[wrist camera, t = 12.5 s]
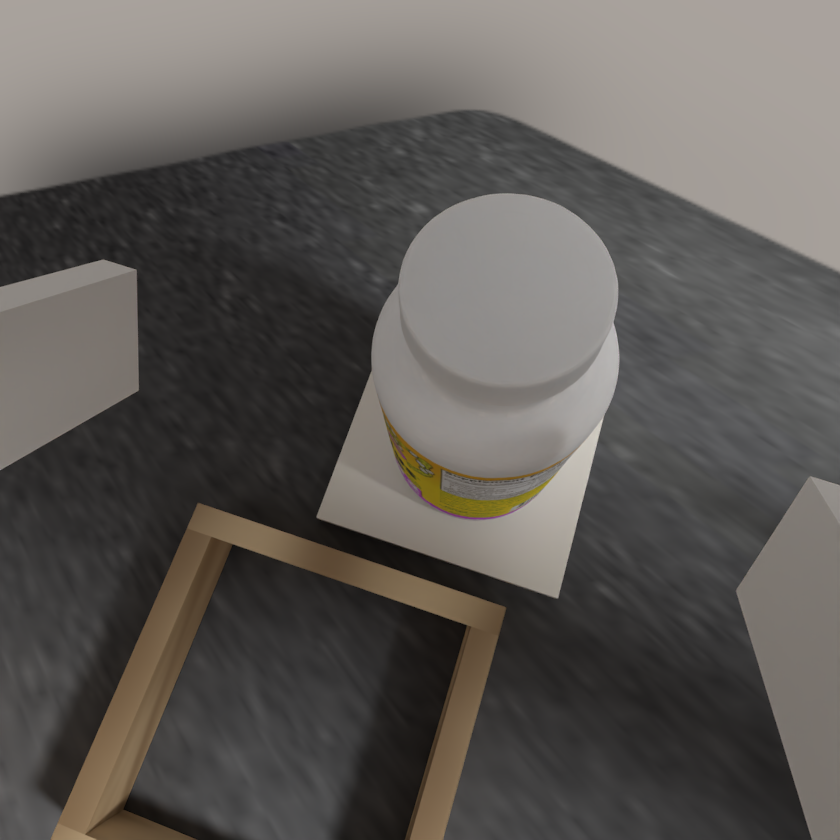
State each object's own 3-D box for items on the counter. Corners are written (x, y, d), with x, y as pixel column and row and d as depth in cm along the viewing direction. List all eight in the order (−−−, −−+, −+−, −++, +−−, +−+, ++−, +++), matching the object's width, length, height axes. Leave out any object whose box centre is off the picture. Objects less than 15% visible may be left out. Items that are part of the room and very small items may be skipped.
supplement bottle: (397, 368, 26) (361, 150, 14) (551, 371, 26) (653, 151, 14) (391, 523, 24) (341, 428, 12) (557, 527, 24) (685, 435, 11)
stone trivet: (611, 373, 26) (615, 368, 26) (555, 598, 24) (557, 598, 23) (397, 311, 27) (396, 305, 27) (319, 519, 25) (316, 517, 24)
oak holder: (499, 607, 23) (506, 607, 21) (401, 960, 20) (396, 1008, 18) (220, 512, 25) (198, 502, 22) (85, 829, 22) (42, 857, 19)
